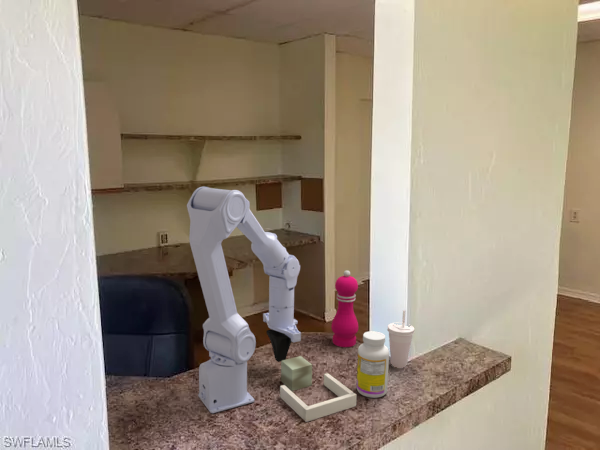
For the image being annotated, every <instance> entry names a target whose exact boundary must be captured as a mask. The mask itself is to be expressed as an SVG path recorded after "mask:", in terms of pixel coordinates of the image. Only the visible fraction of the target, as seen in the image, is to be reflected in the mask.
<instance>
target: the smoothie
mask: <svg viewBox="0 0 600 450" xmlns="http://www.w3.org/2000/svg"><path fill="white" fill-rule="evenodd" d="M405 321H406V309H403V310H402V322H401V323H402V325H398V324H397V325H396V324H394V323H395V322H391V323H389V324H387V329H386V330H387V332H388V338H389V340H388V341H389V357H390V365H391V364H392V365H393V366H394V367H393V366H392V365H391V366H392V367H393V368H395V367H397V368H396V369H404V368H403V367H405V366H406V365H407V364H408V361H409V355H410V350H411V344H412V341H413V335H414V334H415V327H414V326H413V325H411V326H410V327H408V326H405V323H406V322H405ZM406 367H407V366H406ZM406 367H405V368H406Z"/></svg>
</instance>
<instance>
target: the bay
mask: <svg viewBox="0 0 600 450" xmlns="http://www.w3.org/2000/svg"><path fill="white" fill-rule="evenodd" d="M323 385H324V386H325V387H326V388H327V389H329V390H330V391H331V392H332V393H333V394H335V395H336V396H337V397H334V398H331V399H327V400H325V401H321V402H317V403H315V404H310V405H307V404H306V402H304V401H303V400H302V399H301V398H300V397H298V396H297V394H295V393H294V391H291V390H290V389H289V388H288V387H287V386H286V385H285V384H283V385H280V386H279V390H280V391H279V398H280V399H281V400H283V401H284V403H285V404H287V406H289V407H290V408H291V410H293V411H294V412H295V413H296V414H297V415H298V416H299V417H300V418H301V419H303V421H304V422H305V423H307V422H310V421H315V420H316V419H320V418H322V417H326V416H329V415H333V414H335V413H338V412H341V411H345V410H348V409H351V408H355V407H357V393H355V392H354V391H352V390H351V389H350V388H348V387H347V386H346V385H345V384H343V383H342V382H341V381H339V380H338V379H336V378H335V377H333V376H332V375H331V374H329V373H328V372H327V373H324V374H323Z"/></svg>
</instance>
